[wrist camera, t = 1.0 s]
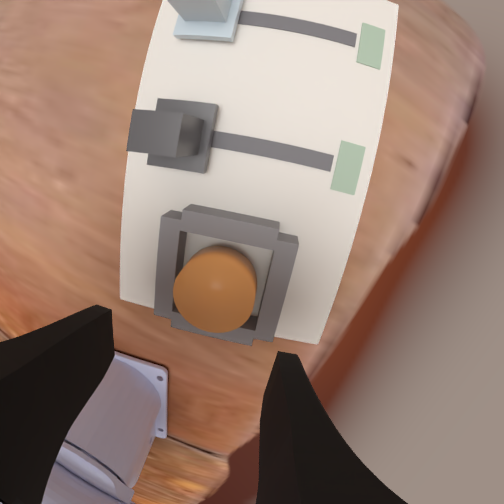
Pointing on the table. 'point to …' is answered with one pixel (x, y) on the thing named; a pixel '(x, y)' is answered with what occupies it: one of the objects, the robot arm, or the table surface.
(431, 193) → the table surface
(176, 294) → the orange button
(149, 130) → the dark gray switch
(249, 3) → the control panel
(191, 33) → the pale blue lever
